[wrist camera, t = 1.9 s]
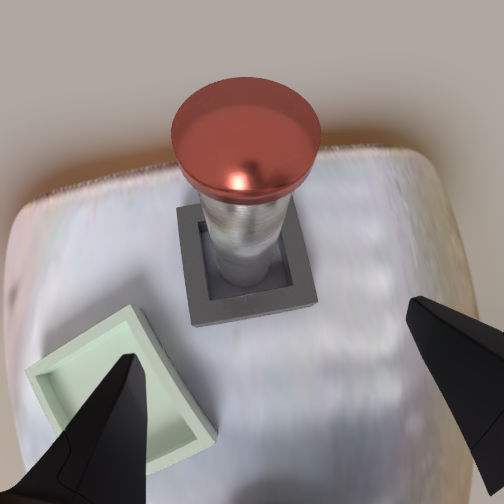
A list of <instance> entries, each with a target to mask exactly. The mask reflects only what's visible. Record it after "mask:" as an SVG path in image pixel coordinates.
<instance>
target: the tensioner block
mask: <svg viewBox="0 0 504 504" xmlns="http://www.w3.org/2000/svg"><path fill="white" fill-rule="evenodd" d="M176 210H177V220H178V229H179V238H180V246H181V254H182V262H183V270H184V277H185V285H186V292H187V299H188V305H189V312H190V318H191V324H192V326H194V327H202V326H208V325H215V324H221V323H227V322H232V321H238V320H244V319H249V318H255V317H260V316H265V315H271V314H276V313H281V312H286V311H291V310H296V309H301V308H305V307H310V306H313V305H314V304H316V303H317V302H318V298H317V294H316V290H315V285H314V281H313V277H312V272H311V268H310V264H309V260H308V256H307V252H306V248H305V244H304V240H303V236H302V232H301V228H300V224H299V220H298V216H297V212H296V209H295V205H294V201H293V197H292V194H291V197H290V201H289V204H288V207H287V211H286V214H285V217H284V221H283V224H282V227H281V231H280V234H279V237H278V242H279V247H280V251H281V256H282V260H283V265H284V269H285V274H286V278H287V283H288V287H283V288H278V289H273V290H267V291H262V292H256V293H251V294H245V295H240V296H234V297H228V298H222V299H217V300H211V295H210V289H209V282H208V276H207V270H206V263H205V256H204V250H203V243H202V236H201V232H205V231H208V227H207V223H206V219H205V216H204V212H203V208H202V204H201V203H200V204H194V205H189V206H183V207H178V208H176Z"/></svg>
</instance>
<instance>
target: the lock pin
mask: <svg viewBox="0 0 504 504" xmlns="http://www.w3.org/2000/svg"><path fill="white" fill-rule="evenodd" d="M171 138H172V145H173V148H174V151H175V154H176V158H177V161H178V164H179V167H180V169H181V171H182V173H183V175H184V177H185V178H186V179H187V181H188V182H189V183H190V184H191V185H192V186H193V187H194V188H195V189H197V190H198V193H199V197H200V201H201V204H202V208H203V212H204V216H205V219H206V223H207V227H208V231H209V234H210V238H211V242H212V245H213V249H214V252H215V256H216V260H217V263H218V267H219V270H220V272H221V274H222V276H223V277H224V278H225V279H226V280H227V281H228V282H230V283H231V284H234V285H237V286H242V287H246V286H252V285H254V284H256V283H258V282H260V281H261V280H262V279H263V278H264V277H265V276H266V274H267V272H268V270H269V267H270V263H271V260H272V257H273V254H274V250H275V247H276V244H277V241H278V237H279V234H280V231H281V227H282V224H283V221H284V217H285V214H286V211H287V207H288V204H289V201H290V197H291V194H292V192H293V191H294V190H295V189H297V188H298V187H299V186H300V185H301V184H302V183H303V182H304V180H305V179H306V178H307V176H308V175H309V173H310V171H311V169H312V166H313V163H314V161H315V158H316V155H317V152H318V149H319V146H320V141H321V129H320V123H319V120H318V117H317V115H316V113H315V111H314V110H313V108H312V107H311V105H310V104H309V103H308V102H307V101H306V100H305V99H304V98H303V97H302V96H301V95H299V94H298V93H296V92H295V91H294V90H292V89H290V88H288V87H286V86H284V85H282V84H280V83H277V82H274V81H270V80H267V79H262V78H253V77H238V78H230V79H225V80H221V81H217V82H214V83H212V84H209V85H207V86H205V87H203V88H201V89H200V90H198V91H196V92H195V93H194V94H193V95H191V96H190V97H189V98H188V99H187V100H186V101H185V102H184V103H183V104H182V106H181V107H180V108H179V110H178V111H177V113H176V115H175V118H174V120H173V124H172V128H171Z"/></svg>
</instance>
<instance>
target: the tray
mask: <svg viewBox="0 0 504 504" xmlns="http://www.w3.org/2000/svg"><path fill="white" fill-rule="evenodd" d="M128 353H135V354H136V355H137V357H138V359H139V361H140V363H141V365H142V367H143V369H144V371H145V375H146V395H147V412H148V426H147V450H146V476H148V475H150V474H152V473H155V472H157V471H159V470H162V469H164V468H166V467H168V466H171V465H173V464H175V463H177V462H179V461H181V460H183V459H185V458H188V457H190V456H192V455H194V454H196V453H198V452H200V451H202V450H204V449H206V448H208V447H210V446H212V445H213V444H215V443H216V440H217V437H218V433H217V431H216V430H215V428H214V427H213V426H212V424H211V423H210V421H209V420H208V418H207V417H206V415H205V414H204V413H203V411H202V410H201V408H200V407H199V405H198V404H197V402H196V401H195V399H194V397H193V396H192V394H191V393H190V391H189V390H188V388H187V387H186V385H185V383H184V382H183V380H182V379H181V377H180V375H179V374H178V372H177V371H176V369H175V367H174V366H173V364H172V362H171V361H170V359H169V357H168V356H167V354H166V352H165V351H164V349H163V347H162V345H161V344H160V342H159V340H158V338H157V337H156V335H155V333H154V331H153V330H152V328H151V326H150V324H149V322H148V320H147V319H146V317H145V315H144V313H143V311H142V309H140V308H138V307H136V306H134V305H131V304H129V305H127V306H126V307H124V308H123V309H121V310H119V311H118V312H116V313H114V314H113V315H111V316H110V317H108V318H106V319H105V320H103V321H102V322H100V323H98V324H97V325H95V326H94V327H92V328H90V329H89V330H87V331H86V332H84V333H82V334H81V335H79V336H78V337H76V338H74V339H73V340H71V341H70V342H68V343H66V344H65V345H63V346H62V347H60V348H58V349H57V350H55V351H54V352H52V353H51V354H49V355H47V356H46V357H44V358H43V359H41V360H40V361H38V362H36V363H35V364H33V365H32V366H30V367H29V368H27V369H26V370H25V372H26V375H27V377H28V379H29V382H30V384H31V386H32V389H33V391H34V393H35V395H36V397H37V399H38V401H39V404H40V406H41V408H42V410H43V412H44V414H45V416H46V418H47V419H48V421H49V423H50V425H51V427H52V429H53V431H54V432H55V434H56V436H57V438H58V437H59V435H60V434H61V433H62V431H63V430H65V427H66V426H67V425H68V423H69V422H70V421H71V419H72V418H73V417H74V416H75V414H76V413H77V412H78V410H79V409H80V408H81V406H82V405H83V404H84V403H85V401H86V400H87V399H88V397H89V396H90V395H91V394H92V392H93V391H94V390H95V388H96V387H97V386H98V385H99V383H100V382H101V381H102V380H103V378H104V377H105V376H106V374H107V373H108V372H109V371H110V369H111V368H112V367H113V366H114V364H115V363H116V362H117V361H118V359H119V358H120V357H121V356H122V355H123V354H128Z"/></svg>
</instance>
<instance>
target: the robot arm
mask: <svg viewBox="0 0 504 504" xmlns="http://www.w3.org/2000/svg"><path fill="white" fill-rule="evenodd" d="M406 322H407V325H408V327H409V329H410V332H411V334H412V336H413V338H414V340H415V343H416V345H417V347H418V349H419V352H420V354H421V356H422V358H423V360H424V362H425V364H426V366H427V367H428V369H429V371H430V373H431V374H432V376H433V378H434V380H435V382H436V384H437V385H438V387H439V389H440V391H441V393H442V395H443V397H444V399H445V400H446V402H447V404H448V406H449V408H450V410H451V412H452V414H453V416H454V418H455V420H456V422H457V424H458V426H459V428H460V430H461V432H462V434H463V436H464V439H465V441H466V443H467V445H468V447H469V449H470V450H471V451H470V452H471V454H472V456H473V458H474V461H475V463H476V465H477V467H478V470H479V472H480V474H481V476H482V479H483V481H484V484H485V486H486V489H487V491H488V493H489V495H490V496H492V495H493V494H495V493H496V492H497V491H499V490H500V489H501V488H503V487H504V332H502V331H500V330H498V329H496V328H493V327H491V326H489V325H487V324H484V323H482V322H480V321H478V320H476V319H473V318H471V317H469V316H467V315H464V314H462V313H460V312H458V311H455V310H453V309H451V308H449V307H446V306H444V305H442V304H439V303H437V302H435V301H432V300H430V299H428V298H426V297H423V296H417V297H414V298H411V299H410V301H409V305H408V310H407V314H406ZM147 426H148V412H147V395H146V375H145V371H144V369H143V367H142V365H141V363H140V361H139V359H138V357H137V355H136V354H135V353H128V354H123V355H122V356H121V357H120V358H119V359H118V361H117V362H116V363H115V364H114V366H113V367H112V368H111V369H110V371H109V372H108V373H107V374H106V376H105V377H104V378H103V380H102V381H101V382H100V383H99V385H98V386H97V387H96V388H95V390H94V391H93V392H92V394H91V395H90V396H89V397H88V399H87V400H86V401H85V403H84V404H83V405H82V406H81V408H80V409H79V410H78V412H77V413H76V414H75V416H74V417H73V418H72V419H71V421H70V422H69V423H68V425H67V426H66V427H65V430H63V431H62V433H61V434H60V435H59V437H58V438H57V439H56V440H55V442H54V443H53V444H52V446H51V447H50V448H49V449H48V450H47V452H46V453H45V454H44V455H43V456H42V457H41V458H40V460H39V461H38V462H37V463H36V464H35V465H34V466H33V467H32V468H31V469H30V471H29V472H28V473H27V474H26V475H25V476H24V477H23V478H22V479H21V481H19V482H18V483H17V484H16V485H15V486H14V487H12V488H11V489H9V490H6V491H3V492H0V504H146V450H147Z"/></svg>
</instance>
